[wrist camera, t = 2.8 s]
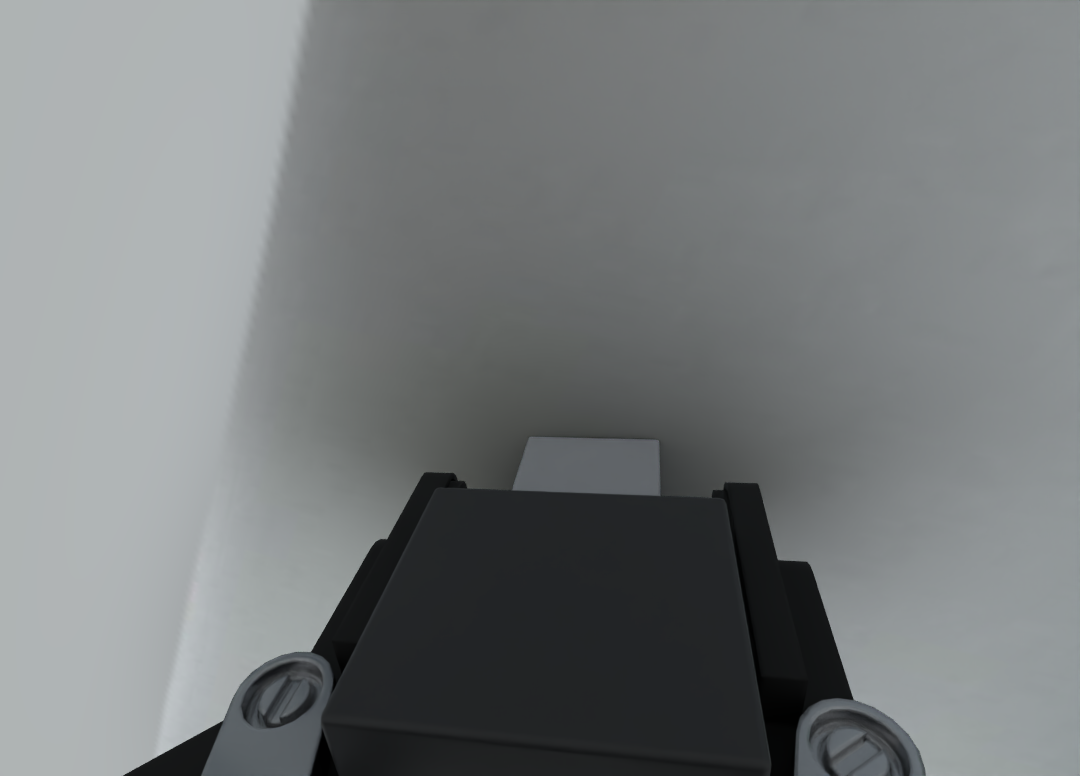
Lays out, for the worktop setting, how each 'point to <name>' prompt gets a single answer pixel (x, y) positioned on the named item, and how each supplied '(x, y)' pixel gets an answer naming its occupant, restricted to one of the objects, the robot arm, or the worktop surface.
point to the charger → (558, 632)
